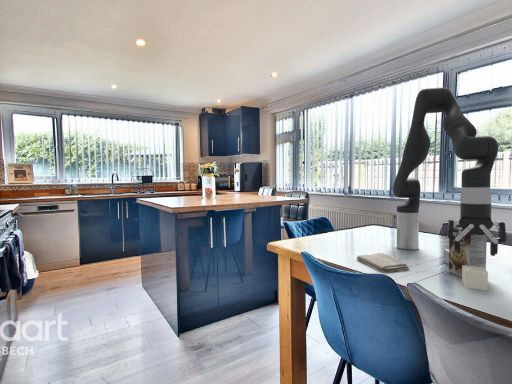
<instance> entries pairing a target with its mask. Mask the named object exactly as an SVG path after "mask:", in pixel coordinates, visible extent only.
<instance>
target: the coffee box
mask: <svg viewBox="0 0 512 384" xmlns="http://www.w3.org/2000/svg"><path fill="white" fill-rule="evenodd" d="M461 229H462V227H461V226H456V227H453V235H454V236H456V235H457V234H458V232H459V231H460V230H461ZM487 240H488V237H487V236H486V235H485V234H484V235H477V234H475V235H470V234H466V235H465V236H464V237H462V238H461V239H460V240H459V241H460V253H457V251H455V249H454V240H453V239H449V238H448V249H449V264H448V272H449V273H451V274H453V275H456V276H457V277H460V278H462V265H466V266H476V267H484V268H485V270H486V271H487V242H488V241H487Z"/></svg>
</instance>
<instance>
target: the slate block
mask: <svg viewBox="0 0 512 384" xmlns="http://www.w3.org/2000/svg"><path fill="white" fill-rule="evenodd" d="M443 262H444V263H446V264H447V265H449V248H448V249H447V248H444V249H443Z"/></svg>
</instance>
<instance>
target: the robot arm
mask: <svg viewBox="0 0 512 384" xmlns="http://www.w3.org/2000/svg"><path fill="white" fill-rule="evenodd" d="M412 113H413V114H412V120H411V124H410V129H409V132H408V136H407V139H406V142H405V145H404V150H403V153H402V158H401V160H400V161H401V162H400V165H399V168H398V171H397V174H396V175H395V179H394V180H393V181H394V182H393V185H392V194H393V196H394V197H395V198H399V199H402V198H403V199H407V200H406V201H405V202H404V203H401V204H398V205H397V206H396V249H402V250H409V251H410V250H411V251H412V250H413V251H414V250H418V249H419V244H420V242H419V236H420V235H419V224H420V223H419V222H420V221H419V219H420V217H419V216H420V215H419V212H420V211H419V210H420V203H421V202H420V201H421V199H420V198H421V183H420V181H419V179H418V178H413V177H410V178H409V176H410V175H411V174H412V173H413V172H414V171H415V170H416V169H417V168H418V167H419V166H420V165H422V163H424V162H425V160H426V159H427V157H428V154H429V151H430V148H431V144H432V143H431V139H430V136H429V134H428V132H427V129H426V126H425V118H426V115H427V114H437V113H439V114H440V113H442V114H444V115H445V117H444V118H443V121H442V127H443V131H445V133H446V135H447V136H448V137H449V138H450V140H451V143H452V146H453V151H454V154H455V156H456V157H457V158H458V159H460V160H463V161H475V160H476V163H475V165H473V166H472V167H471V166H470V167H466V168H465V169H464V168H463V170H462V172H461V191H460V198H459V201H460V205H459V206H460V209H459V211H460V212H459V213H460V218H459V220H457V219H456V220H455V219H448V221H447V232H446V233H447V234H446V236H447V238H448V240H449V239H453V240H454V249H455V251H457V253H460V241H459V240H460V239H461V238H462V237H464V236H465V235H466V234H470V235H475V234H477V235H484V234H485V235H486V236H487V239H489V240H490V241H491V242H490V243H489V245H490V248H489V250H490V251H489V255H490V256H491V257H495V256H496V255H497V254H498V252H499V251H498V250H499V247H498V246H499V244H500V243H506V242H507V233H506V231H507V230H506V223H505V222H504V221H501V220H499V221H492V191H491V173H492V171H493V167H494V164H495V162H496V160H497V159H496V158H497V156H498V153H499V144H498V141H497V140H496V138H495V137H493V136H488V135H487V136H485V135H483V136H477V133H478V130H477V129H476V126H475V125H474V124H473V123H472V122H471V121H470V120H469V119H468V118H467V117H466V116H465V115H464V114H463V113H464V112H462V110H461V108H460V107H459V104H458V102H457V100H456V99H455V96H454V94H453V93H452V91H450V89H449V88H447V87H429V88H422V89H420V90H419V91H418V93H417V95H416V98H415V101H414V108H413V112H412ZM457 225H459V227H462V229H461V230H460V231H459V232H458V234H457V235H456V236H454V235H453V227H457ZM492 227H495V229H497V233H498V237H495V236H494V234H492V233H491V231H490V230H491V228H492Z"/></svg>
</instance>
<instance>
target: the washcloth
mask: <svg viewBox="0 0 512 384" xmlns="http://www.w3.org/2000/svg"><path fill="white" fill-rule="evenodd" d="M357 259H358V261H359V260H360V261H359V262H361V261H362V262H361V263H363V262H364V264H365V265H367V266H370V267H371V268H373V267H374V268H373V269H375V268H376V269H375V270H377V269H378V270H377V271H379V270H380V271H379V272H381V271H382V272H381V273H393V272H400V271H399V270H403V271H408V270H410V268H409V266H408V264H407V263H406V262H404V261H402V260H401V258H398V257H397V258H396V257H394V256H391V255H389V254H387V253H384V252H379V253H377V252H375V253H372V254H361V255H357V256H356V260H357Z"/></svg>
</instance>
